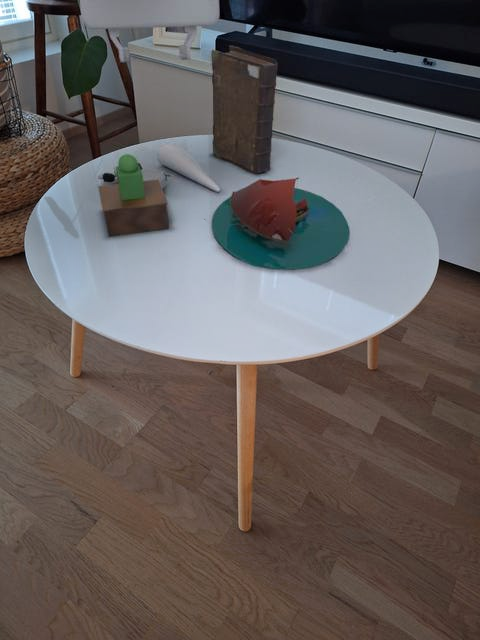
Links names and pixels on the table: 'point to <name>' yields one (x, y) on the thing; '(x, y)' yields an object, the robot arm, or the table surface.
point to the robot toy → (147, 174)
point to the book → (243, 107)
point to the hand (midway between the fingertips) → (155, 60)
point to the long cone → (184, 165)
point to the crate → (134, 210)
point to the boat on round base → (280, 226)
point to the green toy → (130, 178)
